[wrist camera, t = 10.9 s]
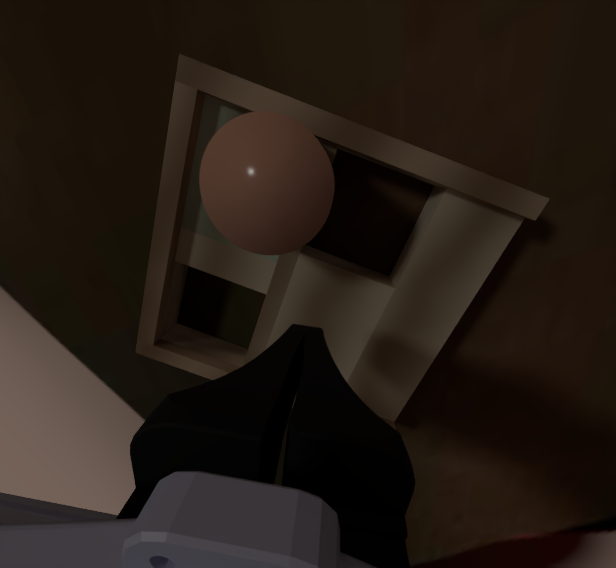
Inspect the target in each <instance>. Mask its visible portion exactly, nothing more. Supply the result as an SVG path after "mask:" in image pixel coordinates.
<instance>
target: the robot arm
mask: <svg viewBox="0 0 616 568" xmlns="http://www.w3.org/2000/svg"><path fill="white" fill-rule="evenodd" d="M296 393H297V394H296ZM295 397H296V398H295ZM294 400H295V402H294ZM293 403H294V405H293ZM292 407H293V409H292ZM291 410H292V412H291ZM290 413H291V416H290ZM289 416H290V419H289ZM288 420H289V422H288ZM287 423H288V431H287V440H286V450H285V459H284V468H283V478H282V485H281V486H280V485H274V481H275V476H276V471H277V466H278V461H279V456H280V451H281V446H282V441H283V437H284V433H285V430H286V426H287ZM130 456H131V461H132V468H133V473H134V479H135V485H136V489H135V490H134V492H133V493H132V495H131V496H130V498H129V499H128V501H127V502H126V504H125V505H124V507H123V509H122V510H121V512H120V513H119V515H112V514H108V513H102V512H97V511H92V510H87V509H82V508H77V507H72V506H66V505H61V504H56V503H51V502H46V501H40V500H36V499H31V498H25V497H20V496H15V495H10V494H5V493H0V568H410V566H409V560H408V555H407V549H406V543H405V539H406V538H407V527H406V521H405V514H406V511H407V509H408V506H409V503H410V500H411V498H412V495H413V492H414V487H415V478H414V473H413V468H412V464H411V461H410V458H409V455H408V453H407V450H406V447H405V445H404V443H403V440H402V438H401V435H400V433H399V432H398V431H397V430H395V429H394V428H393V427H391V426H390V425H389V424H388V423H386V422H385V421H384V420H383V419H381V418H380V417H379V416H378V415H377V414H375V413H374V412H373V411H372V410H371V409H370V408H369V407H368V406H367V405H366V404H365V403H364V402H363V401H362V400H361V399H360V398H359V397H358V395H357V394H356V393H355V392H354V391H353V390H352V388H351V387H350V386H349V384H348V383H347V382H346V380H345V379H344V377H343V376H342V374H341V372H340V371H339V369H338V367H337V365H336V364H335V362H334V360H333V358H332V355H331V353H330V351H329V349H328V346H327V343H326V340H325V337H324V332H323V330H322V328H319V327H312V326H305V325H298V324H292V325H291V326H290V327H289V328H288V329H287V330H286V331H285V332H284V333H283V334H282V335H281V336H280V337H279V338H278V339H277V340H276V341H275V342H274V343H273V344H272V345H271V346H270V347H268V348H267V349H266V350H265V351H263V352H262V353H261V354H260V355H258V356H257V357H256V358H254V359H253V360H251V361H250V362H248V363H247V364H245V365H243V366H242V367H240V368H238V369H236V370H234V371H232V372H230V373H228V374H226V375H224V376H222V377H220V378H217V379H215V380H212V381H210V382H207V383H204V384H202V385H199V386H196V387H192V388H189V389H186V390H182V391H179V392H175V393H171V394H168V395H167V397H166V398H165V399H164V400H163V401H162V402H161V403H160V404H159V405H158V406H157V407H156V408H155V410H154V411H153V412H152V413H151V414H150V416H149V417H148V418H147V420H146V421H145V422H144V424H143V425H142V426H141V427H140V429H139V430H138V431H137V433H136V434H135V435H134V437H133V439H132V442H131V444H130Z"/></svg>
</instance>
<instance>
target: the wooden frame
mask: <svg viewBox="0 0 616 568" xmlns="http://www.w3.org/2000/svg"><path fill="white" fill-rule="evenodd" d="M256 111H269V112H276V113H280V114H283V115H286V116H288V117H290V118H293V119H295V120H296V121H298V122H299V123H301V124H302V125H304V126H305V127H306V128H307V129H308V130H309V131H311V132H312V133H313V135H314V136H315V137H316V138H317V139H318V141H319V142H320V144H321V145H322V147H323V148H324V150H325V151H326V153H327V154H328V156H329V158H330V160H331V163H332V165H333V162H334V159H335V157H336V154H337V151H338V149H340V150H343V151H345V152H348V153H350V154H353V155H355V156H358V157H361V158H363V159H366V160H368V161H371V162H374V163H376V164H379V165H381V166H384V167H386V168H389V169H392V170H394V171H397V172H399V173H402V174H404V175H407V176H410V177H412V178H415V179H417V180H420V181H423V182H425V183H428V184H430V185H433V186H434V188H433V190H432V192H431V194H430V196H429V198H428V200H427V202H426V204H425V206H424V208H423V210H422V212H421V214H420V216H419V218H418V220H417V222H416V224H415V226H414V228H413V230H412V232H411V234H410V236H409V238H408V240H407V242H406V244H405V246H404V248H403V250H402V252H401V254H400V256H399V258H398V260H397V262H396V264H395V266H394V268H393V270H392V272H391V274H390V276H387V275H385V274H382V273H379V272H377V271H374V270H371V269H369V268H366V267H363V266H361V265H358V264H355V263H353V262H350V261H347V260H345V259H342V258H339V257H337V256H334V255H331V254H328V253H326V252H323V251H320V250H318V249H315V248H312V247H310V246H307V245H304V246H302V247H301V248H299V249H297V250H295V251H292V252H289V253H286V254H281V255H260V254H255V253H252V252H248V251H246V250H244V249H241V248H239V247H238V246H236V245H234V244H233V243H231V242H230V241H229V240H228V239H226V238H225V237H224V236H223V235H222V234H221V233H220V232H219V231H218V229H217V228H216V227H215V226H214V224H213V223H212V221H211V219H210V218H209V216H208V214H207V212H206V210H205V207H204V204H203V201H202V197H201V193H200V184H199V174H200V166H201V162H202V158H203V154H204V152H205V150H206V147H207V145H208V144H209V142H210V140H211V139H212V137H213V136H214V135H215V133H216V132H217V131H218V130H219V129H220V128H221V127H222V126H223V125H225V124H226V123H227V122H229V121H230V120H232V119H234V118H236V117H238V116H240V115H243V114H246V113H250V112H256ZM548 201H549V198H546V197H543V196H541V195H538V194H536V193H533V192H531V191H528V190H526V189H523V188H521V187H518V186H515V185H513V184H510V183H508V182H505V181H503V180H500V179H498V178H495V177H492V176H490V175H487V174H485V173H482V172H480V171H477V170H475V169H472V168H469V167H467V166H464V165H462V164H459V163H457V162H454V161H452V160H449V159H446V158H444V157H441V156H439V155H436V154H434V153H431V152H429V151H426V150H423V149H421V148H418V147H416V146H413V145H411V144H408V143H406V142H403V141H401V140H398V139H395V138H393V137H390V136H388V135H385V134H383V133H380V132H378V131H375V130H372V129H370V128H367V127H365V126H362V125H360V124H357V123H355V122H352V121H349V120H347V119H344V118H342V117H339V116H337V115H334V114H332V113H329V112H326V111H324V110H321V109H319V108H316V107H314V106H311V105H309V104H306V103H303V102H301V101H298V100H296V99H293V98H291V97H288V96H286V95H283V94H281V93H278V92H275V91H273V90H270V89H268V88H265V87H263V86H260V85H258V84H255V83H252V82H250V81H247V80H245V79H242V78H240V77H237V76H235V75H232V74H229V73H227V72H224V71H222V70H219V69H217V68H214V67H212V66H209V65H206V64H204V63H201V62H199V61H196V60H194V59H191V58H189V57H186V56H183V55H181V54H179V59H178V66H177V73H176V80H175V86H174V93H173V100H172V107H171V114H170V120H169V127H168V134H167V141H166V148H165V155H164V161H163V168H162V175H161V182H160V189H159V196H158V202H157V209H156V216H155V223H154V230H153V236H152V243H151V250H150V257H149V264H148V271H147V277H146V284H145V291H144V298H143V305H142V311H141V318H140V325H139V332H138V339H137V346H136V352H135V353H138V354H141V355H143V356H146V357H149V358H152V359H155V360H158V361H160V362H163V363H166V364H169V365H172V366H175V367H177V368H180V369H183V370H186V371H189V372H191V373H194V374H197V375H200V376H203V377H206V378H208V379H211V380H215V379H217V378H220V377H222V376H224V375H226V374H228V373H230V372H232V371H234V370H236V369H238V368H240V367H242V366H243V365H245V364H247V363H248V362H250V361H251V360H253V359H254V358H256V357H257V356H258V355H260V354H261V353H262V352H263V351H265V350H266V349H267V348H268V347H270V346H271V345H272V344H273V343H274V342H275V341H276V340H277V339H278V338H279V337H280V336H281V335H282V334H283V333H284V332H285V331H286V330H287V329H288V328H289V327H290V326H291V325H292V324H298V325H305V326H312V327H319V328H322V330H323V332H324V337H325V340H326V343H327V346H328V349H329V351H330V353H331V355H332V358H333V360H334V362H335V364H336V365H337V367H338V369H339V371H340V372H341V374H342V376H343V377H344V379H345V380H346V382H347V383H348V384H349V386H350V387H351V388H352V390H353V391H354V392H355V393H356V394H357V395H358V397H359V398H360V399H361V400H362V401H363V402H364V403H365V404H366V405H367V406H368V407H369V408H370V409H371V410H372V411H373V412H374V413H375V414H377V415H378V416H379V417H380V418H381V419H383V420H384V421H385V422H386V423H388V424H389V425H390V426H391V427H393V428H394V429H395V430H396V428H395V423H394V421H395V420H396V418H397V417H398V415H399V414H400V412H401V410H402V409H403V407H404V406H405V404H406V403H407V401H408V400H409V398H410V396H411V395H412V393H413V392H414V390H415V389H416V387H417V386H418V384H419V382H420V381H421V379H422V378H423V376H424V375H425V373H426V371H427V370H428V368H429V367H430V365H431V364H432V362H433V361H434V359H435V357H436V356H437V354H438V353H439V351H440V350H441V348H442V347H443V345H444V343H445V342H446V340H447V339H448V337H449V336H450V334H451V332H452V331H453V329H454V328H455V326H456V325H457V323H458V322H459V320H460V318H461V317H462V315H463V314H464V312H465V311H466V309H467V308H468V306H469V304H470V303H471V301H472V300H473V298H474V297H475V295H476V293H477V292H478V290H479V289H480V287H481V286H482V284H483V283H484V281H485V279H486V278H487V276H488V275H489V273H490V272H491V270H492V268H493V267H494V265H495V264H496V262H497V261H498V259H499V258H500V256H501V254H502V253H503V251H504V250H505V248H506V247H507V245H508V244H509V242H510V240H511V239H512V237H513V236H514V234H515V233H516V231H517V229H518V228H519V226H520V225H521V223H522V222H523V220H524V219H525V218H527V219H531V220H536V219H537V217H538V216H539V214H540V213H541V211H542V210H543V208H544V207H545V205H546V204H547V202H548ZM188 266H190V267H193V268H196V269H198V270H201V271H204V272H207V273H209V274H212V275H215V276H218V277H220V278H223V279H226V280H228V281H231V282H234V283H237V284H239V285H242V286H245V287H248V288H250V289H253V290H256V291H258V292H261V293H264V294H266V297H265V300H264V303H263V306H262V309H261V312H260V316H259V319H258V322H257V325H256V328H255V331H254V334H253V337H252V340H251V343H250V346H249V349H247V348H244V347H242V346H239V345H236V344H233V343H230V342H228V341H225V340H222V339H219V338H216V337H214V336H211V335H208V334H205V333H203V332H200V331H197V330H194V329H191V328H189V327H186V326H183V325H180V324H178V323H177V320H178V315H179V310H180V306H181V301H182V296H183V291H184V286H185V281H186V276H187V271H188ZM296 394H297V393H296ZM295 398H296V397H295ZM294 402H295V400H294ZM293 405H294V403H293ZM292 408H293V407H292Z"/></svg>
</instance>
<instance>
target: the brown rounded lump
mask: <svg viewBox="0 0 616 568" xmlns="http://www.w3.org/2000/svg"><path fill="white" fill-rule="evenodd" d="M199 184H200V193H201V197H202V201H203V204H204V207H205V210H206V212H207V214H208V216H209V218H210V219H211V221H212V223H213V224H214V226H215V227H216V228H217V229H218V231H219V232H220V233H221V234H222V235H223V236H224V237H225V238H226V239H228V240H229V241H230V242H231V243H233V244H234V245H236V246H238V247H239V248H241V249H244V250H246V251H248V252H252V253H255V254H260V255H281V254H286V253H289V252H292V251H295V250H297V249H299V248H301V247H302V246H304V245H305V244H307V243H308V242H309V241H310V240H312V239H313V238H314V237H315V236H316V235H317V233H318V232H319V231H320V230H321V228H322V227H323V225H324V223H325V222H326V220H327V217H328V215H329V213H330V209H331V206H332V202H333V198H334V192H335V174H334V169H333V166H332V163H331V160H330V158H329V156H328V154H327V153H326V151H325V150H324V148H323V147H322V145H321V144H320V142H319V141H318V139H317V138H316V137H315V136H314V135H313V133H312V132H311V131H309V130H308V129H307V128H306V127H305V126H304V125H302V124H301V123H299V122H298V121H296V120H295V119H293V118H290V117H288V116H286V115H283V114H280V113H276V112H269V111H256V112H250V113H246V114H243V115H240V116H238V117H236V118H234V119H232V120H230V121H229V122H227V123H226V124H225V125H223V126H222V127H221V128H220V129H219V130H218V131H217V132H216V133H215V135H214V136H213V137H212V139H211V140H210V142H209V144H208V145H207V147H206V150H205V152H204V154H203V158H202V162H201V166H200V174H199Z"/></svg>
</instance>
